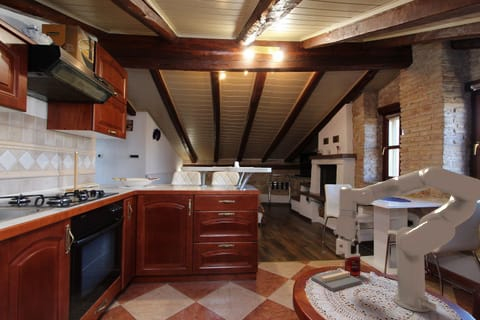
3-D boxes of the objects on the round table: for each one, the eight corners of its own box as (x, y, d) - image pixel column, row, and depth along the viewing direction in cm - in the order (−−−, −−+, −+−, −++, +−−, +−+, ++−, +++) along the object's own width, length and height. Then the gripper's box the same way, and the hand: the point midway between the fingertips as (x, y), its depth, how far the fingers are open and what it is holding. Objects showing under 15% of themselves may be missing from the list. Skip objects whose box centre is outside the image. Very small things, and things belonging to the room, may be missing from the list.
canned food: (348, 269, 136) (348, 250, 137) (363, 274, 130) (362, 253, 131) (342, 273, 131) (341, 252, 132) (356, 278, 125) (356, 256, 126)
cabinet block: (358, 255, 112) (358, 240, 112) (345, 258, 108) (345, 242, 108) (347, 251, 117) (347, 237, 118) (334, 254, 113) (335, 239, 114)
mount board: (361, 283, 119) (361, 276, 119) (332, 291, 110) (332, 284, 111) (338, 272, 132) (338, 266, 132) (311, 279, 123) (311, 272, 123)
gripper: (369, 216, 108) (369, 256, 107) (338, 210, 123) (337, 245, 122) (359, 217, 105) (358, 258, 104) (327, 210, 120) (327, 247, 119)
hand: (347, 251), depth 113 cm, fingers closed on cabinet block, 6 cm apart
